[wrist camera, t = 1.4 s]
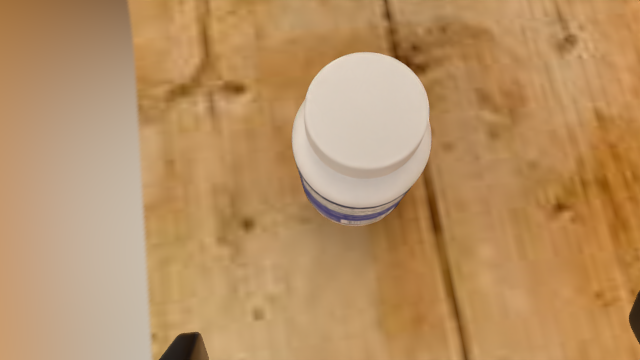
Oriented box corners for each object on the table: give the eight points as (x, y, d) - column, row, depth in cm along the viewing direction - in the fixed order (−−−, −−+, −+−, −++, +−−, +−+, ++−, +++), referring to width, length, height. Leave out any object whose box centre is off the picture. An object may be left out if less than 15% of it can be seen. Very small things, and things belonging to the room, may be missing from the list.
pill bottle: (327, 111, 24) (326, 8, 15) (421, 150, 23) (476, 66, 14) (283, 202, 22) (254, 147, 14) (381, 245, 22) (414, 217, 13)
